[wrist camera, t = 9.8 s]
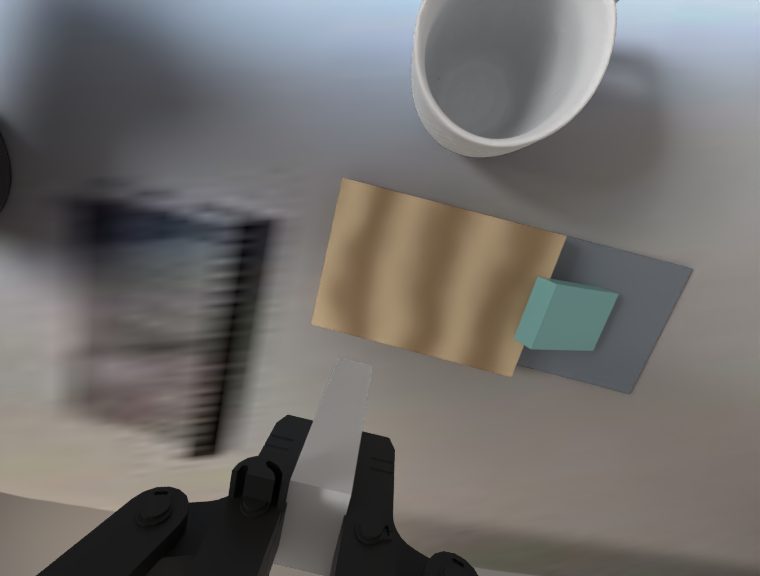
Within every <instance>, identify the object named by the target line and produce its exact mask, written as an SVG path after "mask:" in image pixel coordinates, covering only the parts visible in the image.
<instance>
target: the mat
mask: <svg viewBox="0 0 760 576" xmlns="http://www.w3.org/2000/svg"><path fill="white" fill-rule="evenodd" d="M691 271H692V269H691V268H687V267H683V266H679V265H676V264H672V263H668V262H664V261H660V260H656V259H653V258H649V257H645V256H641V255H637V254H633V253H629V252H626V251H622V250H618V249H614V248H610V247H606V246H603V245H599V244H595V243H591V242H587V241H583V240H580V239H576V238H572V237H568V236H567V237H566V240H565V242H564V245H563V247H562V250H561V252H560V255H559V257H558V260H557V263H556V265H555V268H554V270H553V273H552V275H551V278H550V279H555V280H561V281H567V282H573V283H579V284H585V285H591V286H597V287H601V288H603V289H606V290H609V291H612V292H614V293H617V294H619V295H618V297H617V299H616V301H615V303H614V306H613V308H612V310H611V312H610V314H609V317H608V319H607V321H606V323H605V326H604V328H603V330H602V332H601V334H600V337H599V339H598V341H597V343H596V345H595V348H594V350H593V351H579V350H538V349H530V348H528V347H526V346H525V345H524V347H523V349H522V352H521V354H520V357H519V359H518V362H517V365H521V366H525V367H529V368H532V369H536V370H540V371H544V372H548V373H551V374H555V375H559V376H563V377H566V378H570V379H574V380H578V381H582V382H585V383H589V384H593V385H597V386H601V387H604V388H608V389H612V390H616V391H620V392H623V393H627V394H630V393H631V391H632V389H633V387H634V385H635V383H636V381H637V379H638V377H639V375H640V373H641V371H642V369H643V367H644V365H645V363H646V361H647V359H648V357H649V355H650V353H651V351H652V349H653V347H654V345H655V343H656V341H657V339H658V337H659V335H660V333H661V331H662V329H663V327H664V325H665V323H666V321H667V319H668V317H669V315H670V313H671V311H672V309H673V307H674V305H675V303H676V301H677V299H678V297H679V295H680V293H681V291H682V289H683V287H684V285H685V283H686V281H687V279H688V277H689V275H690V273H691Z"/></svg>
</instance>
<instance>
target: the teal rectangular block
mask: <svg viewBox="0 0 760 576" xmlns="http://www.w3.org/2000/svg"><path fill="white" fill-rule="evenodd" d="M618 295H619V294H617V293H614V292H612V291H609V290H606V289H603V288H601V287H597V286H591V285H585V284H579V283H573V282H567V281H561V280H555V279H549V278H543V277H537V280H536V282H535V285H534V287H533V290H532V293H531V295H530V298H529V300H528V303H527V306H526V308H525V311H524V314H523V316H522V319H521V321H520V324H519V327H518V329H517V332H516V334H515V337H514V339H515V340H517V341H519V342H520V343H522V344H523V345H525V346H526V347H528V348H530V349H538V350H579V351H593V350H594V348H595V345H596V343H597V341H598V339H599V337H600V334H601V332H602V330H603V328H604V326H605V323H606V321H607V319H608V317H609V314H610V312H611V310H612V308H613V306H614V303H615V301H616V299H617V297H618Z"/></svg>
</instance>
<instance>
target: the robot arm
mask: <svg viewBox="0 0 760 576" xmlns="http://www.w3.org/2000/svg"><path fill="white" fill-rule="evenodd" d="M9 185H10V167H9V161H8V156H7V152H6V149H5V146H4V143H3V141H2V138H1V136H0V210H1V208H2V207H3V205H4V203H5V201H6V198H7V195H8V191H9ZM372 369H373V365H369V364H365V363H361V362H357V361H353V360H349V359H344V358H340V357H338V359H337V362H336V364H335V367H334V369H333V372H332V374H331V377H330V380H329V382H328V385H327V387H326V390H325V392H324V395H323V397H322V400H321V403H320V405H319V408H318V410H317V413H316V415H315V418H314V420H313V421H312V420H308V419H304V418H300V417H296V416H291V415H286V416H285V417H284V418H282V419H281V420H280V421H278V422H277V423H276V425H275V426H274V428H273V430H272V432H271V434H270V436H269V437H268V439H267V441H266V443H265V446H264V447H263V448H262V450H261V452H260V454H259V456H255V457H250V458H247V459H245V460H243V461H241V462H240V463H238V464H237V466H236V467H235V468H234V469H233V470H232V475H231V482H230V489H229V496H227V497H225V498H222V499H219V500H214V501H208V502H192V503H189V502H188V499H187V495H185V494H184V493H183V492H182V491H181V490H180V489H176V488H173V487H156V488H153V489H150V490H147V491H144V492H142V493H141V494H139V495H137V496H136V497H134V498H133V499H131V500H130V501H129V502H128V503H126V504H125V505H124V506H123V507H121V508H120V509H119V510H118V511H116V512H115V513H114V514H113V515H111V516H110V517H109V518H108V519H106V520H105V521H104V522H103V523H101V524H100V525H99V526H98V527H96V528H95V529H94V530H93V531H91V532H90V533H89V534H88V535H86V536H85V537H84V538H83V539H81V540H80V541H79V542H78V543H76V544H75V545H74V546H73V547H71V548H70V549H69V550H68V551H66V552H65V553H64V554H63V555H61V556H60V557H59V558H58V559H56V561H54V562H53V563H52V564H50V565H49V566H48V567H46V568H45V569H44V570H43V571H41V572H40V573H39V574H38V575H36V576H269V572H270V570H271V567H272V564H273V561H274V564H277V565H282V566H286V567H290V568H294V569H299V570H303V571H307V572H311V573H315V574H319V575H323V576H478V575H477V573H476V571H475V570H474V568H473V567H472V566H471V565H470V564H469V563H468V562H467V561H466V560H465V559H463V558H462V557H460V556H458V555H456V554H455V553H450V552H445V551H443V552H439V553H435V554H434V555H433V556H432V557H431V558H428V557H426V556H425V555H423V554H421V553H420V552H418V551H416V550H414V549H413V548H412V547H410V546H409V545H408V544H407V543H406V542H405V541H404V540H403V539H402V538H401V537H400V535H399V534H398V532H397V530H396V528H395V525H394V521H393V495H394V461H395V449H394V447H393V445H392V443H391V441H390V439H389V438H388V437H384V436H379V435H375V434H371V433H367V432H363V431H362V428H363V422H364V417H365V411H366V405H367V399H368V393H369V387H370V381H371V375H372ZM274 558H275V559H274Z"/></svg>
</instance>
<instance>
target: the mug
mask: <svg viewBox="0 0 760 576" xmlns="http://www.w3.org/2000/svg"><path fill="white" fill-rule="evenodd" d="M618 1H619V0H423V2H422V5H421V7H420V10H419V13H418V17H417V21H416V25H415V31H414V40H413V47H412V59H411V64H412V66H411V78H412V80H411V84H412V94H413V99H414V104H415V106H416V109H417V114H418V115H419V117H420V120H421V122H422V124H423V126H424V127H425V128H426V130H427V132H429V133H430V135H431V136H432V137H433V138H434V139H435V141H437V142H438V143H439V144H440V145H442V146H444V147H445V148H446V149H449V150H450V151H453V152H455V153H456V154H461V155H462V156H468V157H474V158H477V157H482V158H484V157H490V156H493V157H494V156H498V155H503V154H506V153H509V152H513V151H516V150H519V149H522V148H523V147H527V146H529V145H531V144H533V143H535V142H537V141H539V140H542V139H544V138H546V137H548V136H550V135H552V134H553V133H555V132H556V131H558V130H559V129H561V128H562V127H564V126H565V125H566V124H567V123H569V122H570V121H571V120H572V119H573V118H574V117H575V116H576V115H577V114H578V113H579V112H580V111H581V110H582V109H583V108H584V106H585V105H586V104H587V103H588V101H589V100H590V99H591V97H592V96H593V94H594V93H595V91H596V90H597V88H598V86H599V84H600V83H601V81H602V79H603V76H604V74H605V72H606V69H607V67H608V64H609V61H610V58H611V54H612V50H613V46H614V41H615V35H616V19H617V18H616V3H617V2H618Z"/></svg>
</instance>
